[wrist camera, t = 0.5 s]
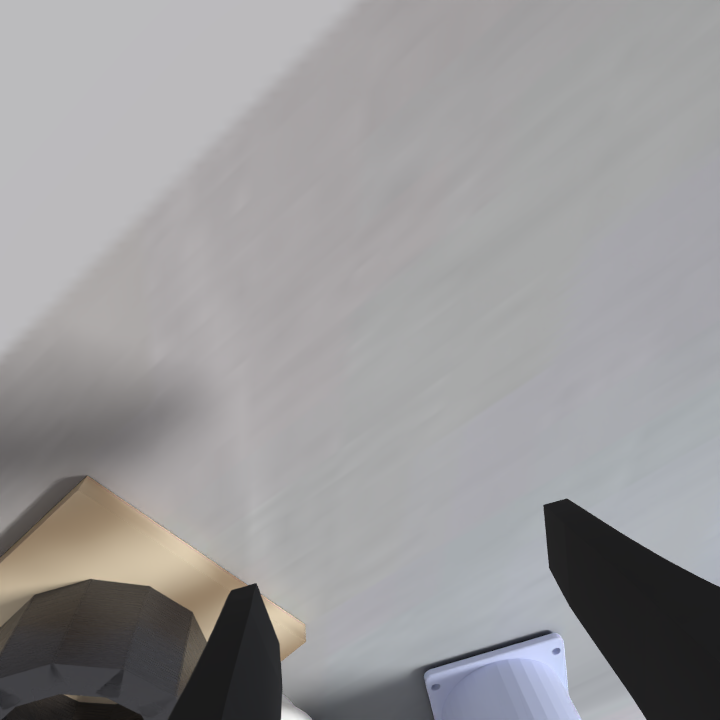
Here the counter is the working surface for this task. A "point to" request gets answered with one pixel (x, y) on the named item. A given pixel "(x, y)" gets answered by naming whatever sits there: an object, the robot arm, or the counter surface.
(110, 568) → the square wooden board
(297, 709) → the white round knobbed piece
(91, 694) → the ring
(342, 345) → the counter surface
